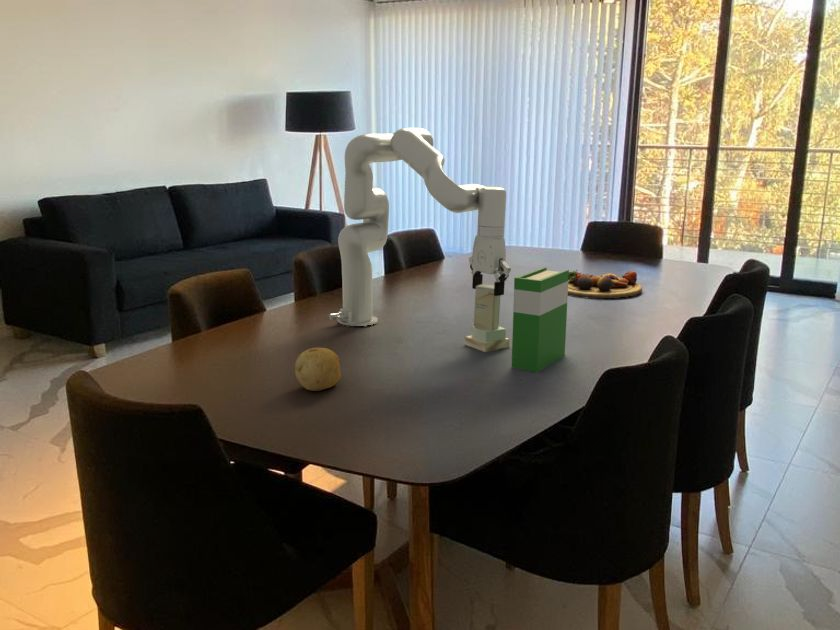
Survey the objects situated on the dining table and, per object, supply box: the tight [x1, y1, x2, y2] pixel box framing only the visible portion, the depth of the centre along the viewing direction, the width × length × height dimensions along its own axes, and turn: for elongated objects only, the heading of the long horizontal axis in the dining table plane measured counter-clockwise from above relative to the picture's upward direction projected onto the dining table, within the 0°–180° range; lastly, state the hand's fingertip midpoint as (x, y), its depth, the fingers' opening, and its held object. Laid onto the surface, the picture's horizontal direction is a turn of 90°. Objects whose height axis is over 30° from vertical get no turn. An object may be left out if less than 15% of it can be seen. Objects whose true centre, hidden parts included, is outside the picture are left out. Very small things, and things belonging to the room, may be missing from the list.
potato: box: [294, 347, 342, 392], centre depth 187 cm, size 10×12×10 cm
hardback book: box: [511, 266, 570, 373], centre depth 207 cm, size 18×7×24 cm, turn 147°
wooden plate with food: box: [568, 269, 643, 299], centre depth 296 cm, size 32×32×8 cm
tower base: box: [464, 334, 511, 353], centre depth 223 cm, size 9×9×3 cm
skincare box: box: [473, 283, 502, 330], centre depth 221 cm, size 6×4×12 cm
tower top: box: [471, 325, 507, 342], centre depth 223 cm, size 7×7×3 cm
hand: (487, 291), depth 220 cm, fingers open, 9 cm apart
